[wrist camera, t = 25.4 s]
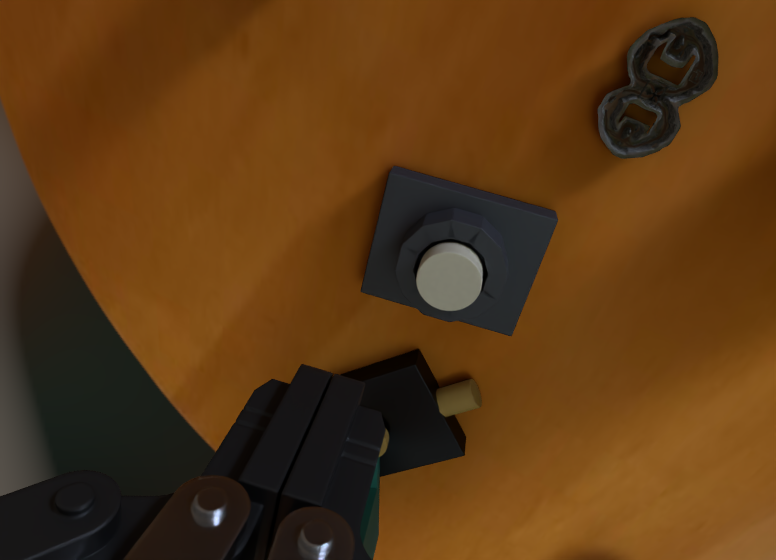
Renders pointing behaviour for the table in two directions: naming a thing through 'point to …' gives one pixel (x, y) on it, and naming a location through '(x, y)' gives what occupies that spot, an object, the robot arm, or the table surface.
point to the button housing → (462, 225)
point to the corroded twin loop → (658, 87)
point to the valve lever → (373, 508)
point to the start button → (449, 276)
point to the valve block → (416, 411)
